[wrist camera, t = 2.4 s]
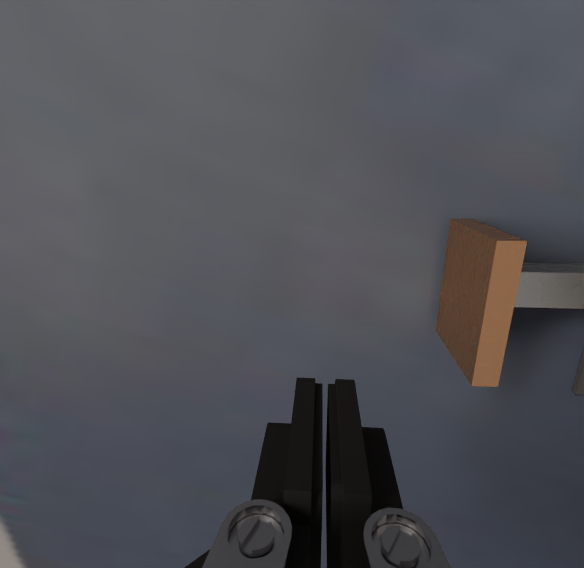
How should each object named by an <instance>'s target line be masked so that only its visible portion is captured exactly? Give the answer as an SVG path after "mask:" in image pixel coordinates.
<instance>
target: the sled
mask: <svg viewBox="0 0 584 568" xmlns="http://www.w3.org/2000/svg"><path fill="white" fill-rule="evenodd" d="M526 245H527V241H526V240H523V239H521V238H518V237H516V236H514V235H511V234H509V233H506V232H504V231H501V230H499V229H496V228H494V227H491V226H489V225H486V224H484V223H481V222H479V221H476V220H474V219H450V225H449V233H448V240H447V248H446V256H445V263H444V271H443V278H442V286H441V294H440V301H439V309H438V316H437V324H436V332H437V333H438V335H439V336H440V338H441V339H442V341H443V343H444V344H445V346H446V347H447V349H448V350H449V352H450V353H451V355H452V356H453V358H454V359H455V361H456V363H457V364H458V366H459V367H460V369H461V370H462V372H463V373H464V375H465V376H466V378H467V379H468V381H469V383H470V384H471V386H489V387H498V384H499V379H500V374H501V369H502V364H503V359H504V354H505V349H506V344H507V339H508V334H509V329H510V324H511V319H512V314H513V309H514V307H532V308H571V309H584V264H582V263H523V260H524V255H525V250H526Z"/></svg>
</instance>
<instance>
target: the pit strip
mask: <svg viewBox="0 0 584 568" xmlns="http://www.w3.org/2000/svg"><path fill="white" fill-rule="evenodd" d="M572 391H573V392H574V393H575V394H576V395H584V350H583V353H582V357H581V360H580V364H579V368H578V371H577V375H576V378H575V382H574V386H573V389H572Z"/></svg>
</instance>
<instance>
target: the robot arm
mask: <svg viewBox="0 0 584 568" xmlns="http://www.w3.org/2000/svg"><path fill="white" fill-rule="evenodd" d="M322 486H323V462H322V384H318V383H315V378H297V381H296V389H295V397H294V406H293V414H292V422H291V424H287V423H268V424H267V428H266V433H265V437H264V442H263V447H262V451H261V456H260V461H259V465H258V470H257V475H256V479H255V484H254V489H253V493H252V498H251V500H250V501H246V502H244V503H242V504H240V505H238V506H236V507H235V508H234V509H233V510H231V511H230V512H229V513H228V514H227V516H226V518H225V519H224V521H223V522H222V524H221V527H220V529H219V531H218V533H217V536H216V538H215V540H214V542H213V545H212V547H211V549H210V550H209V551H207V552H206V553H204V554H203V555H202V556H200V557H199V558H197V559H196V560H195V561H193V562H192V563H190V564H189V565H188V566H186V567H185V568H320V567H321V531H322ZM326 527H327V568H451V566H450V564H449V562H448V560H447V557H446V555H445V553H444V551H443V549H442V547H441V545H440V543H439V540H438V538H437V537H436V535H435V533H434V532H433V530H432V529H431V527H430V526H429V525H428V524H427V523H426V522H425V521H424V520H423V519H422V518H420V517H418V516H417V515H415V514H413V513H412V512H409V511H406V510H403V507H402V502H401V498H400V494H399V490H398V486H397V481H396V477H395V473H394V469H393V465H392V460H391V456H390V452H389V448H388V444H387V439H386V435H385V432H384V429H383V428H370V427H362V426H361V420H360V413H359V407H358V400H357V394H356V387H355V381H354V380H344V379H336V380H335V384H328V405H327V439H326Z"/></svg>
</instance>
